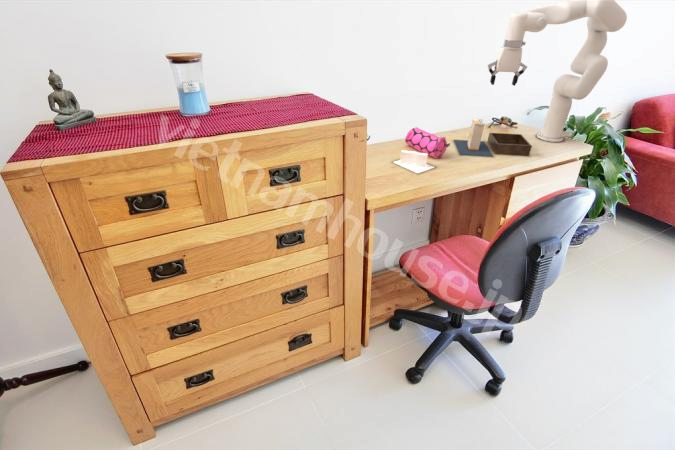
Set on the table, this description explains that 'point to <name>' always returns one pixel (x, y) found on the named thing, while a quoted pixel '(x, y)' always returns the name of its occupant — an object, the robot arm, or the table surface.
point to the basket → (509, 144)
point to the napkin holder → (414, 161)
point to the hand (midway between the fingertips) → (502, 84)
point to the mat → (465, 150)
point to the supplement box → (475, 134)
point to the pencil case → (426, 142)
